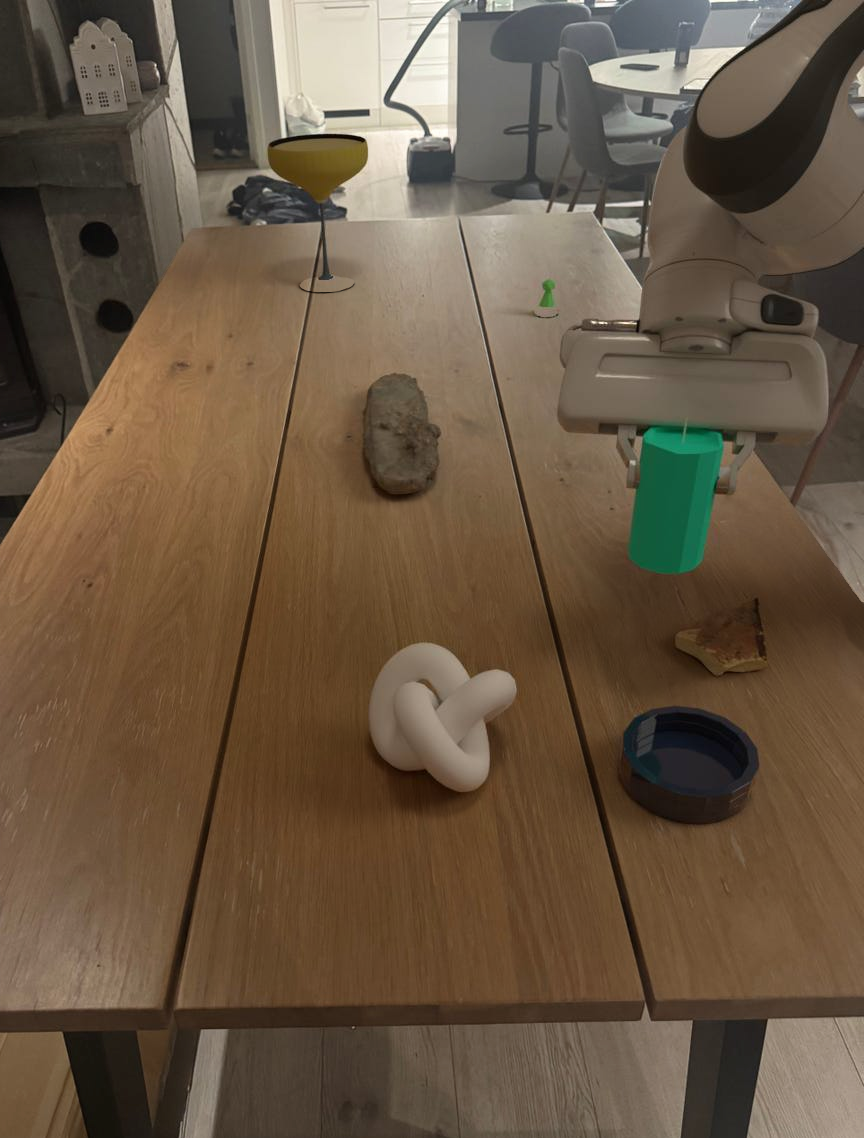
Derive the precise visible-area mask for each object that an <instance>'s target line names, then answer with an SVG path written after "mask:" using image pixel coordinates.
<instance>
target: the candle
mask: <svg viewBox="0 0 864 1138" xmlns="http://www.w3.org/2000/svg"><path fill="white" fill-rule="evenodd" d="M687 420H688V418H686V419H685V426H684V427H671V426H652V427H651V428H650V429H649V430H648V431H647V432H646V433H645V434H644V435H643V437H642V441H641V448H640V456H639V461H641V473H640V485H639V487H638V489H635V493H634V500H633V507H632V515H631V522H630V530H629V537H628V544H627V551H628V557H629V560H631V561H632V562H633V564H636V565H637V566H638V567H639V568H641V569H644V570H647V571H651V572H654V573H656V574H666V575H667V574H669V575H681V574H683V573H688V572H690V571H693V570H696V569H697V567H698V566H699V565H700V564H701V563H702V562H703V560H704V559H703V558H704V552H705V548H706V543H707V538H708V534H709V533H708V531H709V527H710V522H711V516H712V511H713V506H714V501H715V495H716V494H715V486H716V481H717V480H718V475H719V470H720V467H721V464H722V459H723V455H724V454H723V453H724V448H725V444H724V442H723V440H722V435H721V433H718V432H714V431H711V430H708V429H706V428H689V427H686V426H687Z"/></svg>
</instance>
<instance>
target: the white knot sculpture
mask: <svg viewBox="0 0 864 1138" xmlns="http://www.w3.org/2000/svg"><path fill="white" fill-rule="evenodd" d="M421 680H425V681H427V682H428V683H429V684H430V685H431V686H432V687H433V689H434V690H435V692H436V694H437V696H438V697H437V696H436V694H434V693H433V691H432V690H431V689H430V688H428V687H427V686H426V685H425V684H424V683H420V682H419V681H421ZM517 692H518V689H517V684H516V680H515V678H514V677H513V676H512V675H511V674H510V673H509V672H508V671H505V670H501V669H498V668H495V669H490V670H486V671H482V672H480V673H478V674H476V675H474V676H473V677H470V675H469V674H468V672H467V670H466V669H465V668H464V665H463V664H462V663H461V661H460V660H459V659H458V658H457V656H456V655H455V654H454V653H452V652H451V651H450V650H448V649H447V648H446V647H444V646H441V645H439V644H435V643H432V642H417V643H413V644H409V645H408V646H406V647H404V648H402V649H400V650H399V651H398V652H396V653H394V654H393V655H392V656H391V657H390V658H389V659H388V661H387V662H386V663H385V664H384V665H383V667H382V668H381V669H380V672H379V673H378V675H377V677H376V679H375V682H374V685H373V687H372V690H371V694H370V699H369V703H368V726H369V734H370V738H371V739H372V740H371V741H372V743H373V745H374V747H375V749H376V751H377V753H378V754H379V755H380V757H381V758H382V759H383V760H384V761H386V762H387V763H388V764H390V766H392V767H394V768H395V769H397V770H401V771H404V772H405V771H406V772H409V771H421V770H422V771H423V770H426V771H427V773H428V774H430V775H431V776H432V778H434V779H435V780H436V781H437V782H439V783H440V784H441V785H443V786H444V787H446V788H448V789H451V790H452V791H455V792H456V793H457V792H458V793H467V792H474V791H475V790H478V788H480V787H481V786H482V785H483V784H484V783H485V781H487V778H488V777H489V776H488V775H489V773H490V762H491V756H490V752H491V751H490V743H489V737H488V732H487V726H486V724H488V723H489V722H491V721H492V720H494V719H495V718H496V717H498V716H499V715H501V714H502V713H503V712H504V711H505V710H507V709H508V708H509V707H510V706H511V705H512V704H513V703H514V701H515V699H516V696H517Z"/></svg>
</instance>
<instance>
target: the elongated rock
mask: <svg viewBox="0 0 864 1138" xmlns="http://www.w3.org/2000/svg"><path fill="white" fill-rule="evenodd" d="M427 404H428V403H427V401H426V397H425V392H424V390H422V389H421V388H420V387H419V385H418V380H417V377H412V376H411V375H408V374H406V373H396V372H393V373H391V374H385V375H382V376H380V377H379V378H378V379H376V380H375V381H373V382H372V383H371V384H370V386H369V388H368V389H367V394H366V406H365V408H363V409H362V411H361V412H362V415H363V416H364V422H363V429H364V430H363V433H362V437H363V438H362V443H363V447H362V449H363V452H364V456H365V458H366V460H367V462H368V463H369V467H370V470H371V472H370V473H371V475H372V477H373V479H374V480H375V481H376V482H377V485H379V487H380V488H381V489H382V490H384V491H386V492H387V493H388V494H389V495H390V494H391V495H407V494H412V493H417V492H418V491H424V490H425V489H426V487H427V486H428V483H429V480H431V481H434V480H435V479H436V478H437V470H438V468H439V465H440V463H441V462H440V461H441V460H440V456H439V452H438V447H439V441H438V440H439V438H440V437H441V435H442V430H441V427H440V425H437V424H436V423H431V422H430V421H429V409H428V405H427Z"/></svg>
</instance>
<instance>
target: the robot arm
mask: <svg viewBox="0 0 864 1138" xmlns="http://www.w3.org/2000/svg"><path fill="white" fill-rule="evenodd" d="M863 68H864V0H801V1H800V2H799V3H798V4H797V5H796V6H795V7H794V8H792V10H791V11H789V12H788V13H787V14H786V15H785V16H784V17H783V18H782V19H780V20H779V21H778V22H777V23H776V24H775V25H774V26H772V27H771V28H770V29H768V30H767V31H765V33H763V34H762V35H760V36H759V37H758V38H757V39H754V40H753V41H752V42H750V43H749V44H748V45H747V46H745V47H744V48H743V49H741V50H740V51H738V52H737V53H736V54H734V55H733V56H731V58H730V59H728V60H727V61H725V63H723V64H722V65H721V66H720V67H718V69H717V70H716V71H715V72H714V73H713V74H712V75H711V76H710V78H709V79H708V80H707V81H706V83H705V84H704V86H703V87H702V89H701V90H700V92H699V94H698V95H697V97H696V99H695V101H694V104H693V105H692V108H691V111H690V114H689V117H688V120H687V124H686V125H685V126H684V127H682V128H681V129H680V130H679V131H678V132H677V133H676V134H675V135H674V137H673V138H672V140H671V141H670V142H669V144H668V146H667V147H666V150H665V151H664V154H663V155H662V159H661V160H660V163H659V167H658V169H657V173H656V176H655V181H654V185H653V190H652V195H651V202H650V209H649V217H648V225H647V236H646V242H647V243H646V244H647V248H648V253H649V262H648V267H647V270H646V272H645V275H644V277H643V281H642V286H641V295H640V306H639V316H638V319H608V320H607V319H606V320H604V319H599V318H585V319H582V320H581V322H580V323H576V324H573V325H571V326H570V327H568V328H567V329H566V330H565V331H564V333H563V334H562V337H561V340H560V348H559V361H560V364H561V366H562V367H563V368H564V371H563V376H562V380H561V385H560V391H559V394H558V395H559V396H558V402H557V413H556V417H557V419H556V420H557V422H558V423H559V425H560V426H561V428H562V429H563V430H564V431H565V432H566V433H571V434H589V435H590V434H591V435H606V436H607V435H608V436H616V443H615V444H616V445H615V448H616V449H615V450H617V453H618V454H619V456H620V458H621V460H622V462H623V464H624V466H625V467H626V469H627V474H626V483H625V484H626V485H625V486H626V487H625V488H626V489H635V490H636V489H638V487H639V485H640V473H641V461H640V460H639V459H638V457H637V455H636V454H635V451H634V449H633V448H634V446H635V442H636V438H637V437H641V438H643V435H644V434H645V433H646V432H647V431H648V430H649V429H650V428H651V427H652V426H671V427H684V426H685V419H686V418H688V420H687V426H686V427H689V428H706V429H708V430H711V431H714V432H718V433H721V435H722V440H723V443H724V442H725V443H731V455H736V456H735V457H734V459H733V461H732V462H731V463H730V465H729V466H720V470H719V475H718V480H717V481H716V486H715V495H725V496H734V494H735V492H736V488H737V483H738V473H739V471H740V470H741V468H742V467H743V465H744V464H745V463H746V461H747V460H748V459H749V457H750V456H751V454H752V452H753V451H754V449H755V448H756V444H758V445H759V444H761V445H777V446H792V447H793V446H794V447H806V446H809V445H810V444H811V443H812V442H813V441H814V440H816V439H817V438H818V437H819V436H820V434H821V433H822V432H823V431H824V429H825V427H826V425H827V423H828V418H829V407H830V406H829V405H830V403H829V401H830V396H829V393H830V392H829V374H828V364H827V357H826V355H825V352H824V350H823V348H822V346H821V345H820V344H819V343H818V341H816V340H815V339H813V338H814V336H815V333H816V331H817V327H818V324H819V315H820V313H819V309H818V307H817V306H816V305H814V303H812V302H811V303H810V302H808V301H806V300H802V299H799V298H796V297H793V296H790V295H786V294H783V293H781V292H779V291H775V290H772V289H769V288H767V287H765V286H762V285H760V284H758V282H759V279H760V278H761V277H762V276H765V277H784V276H791V275H799V274H806V273H813V272H816V271H817V272H818V271H821V270H822V271H823V270H826V269H830V268H834V267H836V266H839V265H841V264H843V263H846V262H848V261H849V260H851V259H852V258H854V257H856V256H857V255H858V254H860V253H861V252H863V251H864V123H863V122H862V121H861V119H860V117H859V116H858V114H857V112H856V111H855V110H854V109H853V107H852V105H851V104H850V102H849V101H848V98H849V95H850V90H851V87H852V85H853V83H854V80H855V79H856V77H857V75H858V74H859V72H860V71H861V70H862V69H863Z"/></svg>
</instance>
